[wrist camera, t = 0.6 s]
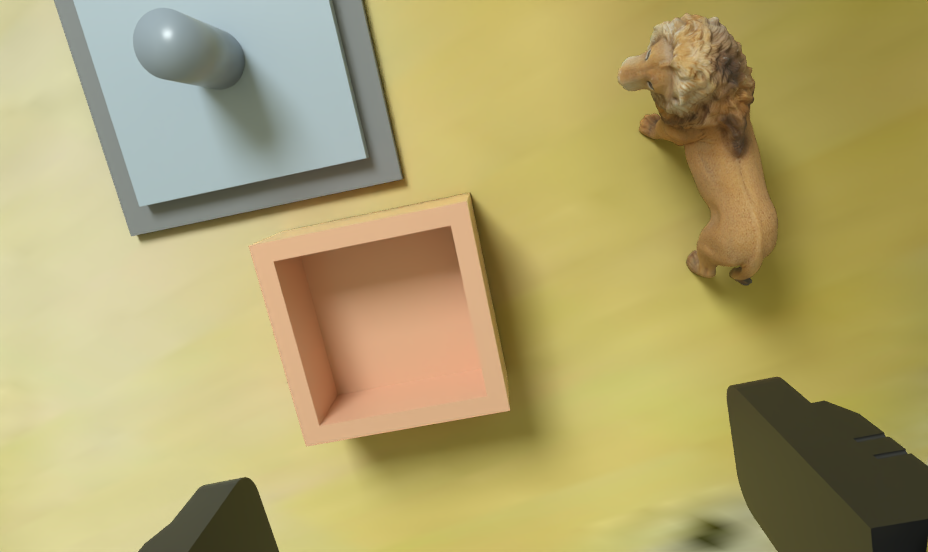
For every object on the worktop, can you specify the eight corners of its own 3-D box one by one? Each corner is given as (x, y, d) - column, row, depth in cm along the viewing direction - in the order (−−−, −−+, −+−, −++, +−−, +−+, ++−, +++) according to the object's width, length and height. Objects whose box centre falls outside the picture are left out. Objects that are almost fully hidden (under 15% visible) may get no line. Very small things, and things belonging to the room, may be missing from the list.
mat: (40, -61, 32) (33, -64, 31) (331, -136, 30) (329, -141, 30) (136, 235, 35) (131, 236, 34) (403, 178, 34) (401, 179, 33)
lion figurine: (581, 73, 32) (616, 47, 23) (672, 17, 31) (744, -31, 23) (703, 303, 35) (777, 358, 26) (790, 257, 34) (896, 298, 25)
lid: (69, -40, 31) (-23, -80, 26) (308, -100, 30) (266, -156, 25) (147, 205, 34) (79, 217, 28) (369, 157, 33) (344, 160, 27)
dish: (282, 231, 34) (248, 245, 30) (470, 192, 34) (466, 201, 29) (330, 406, 37) (306, 446, 32) (507, 373, 36) (510, 410, 31)
